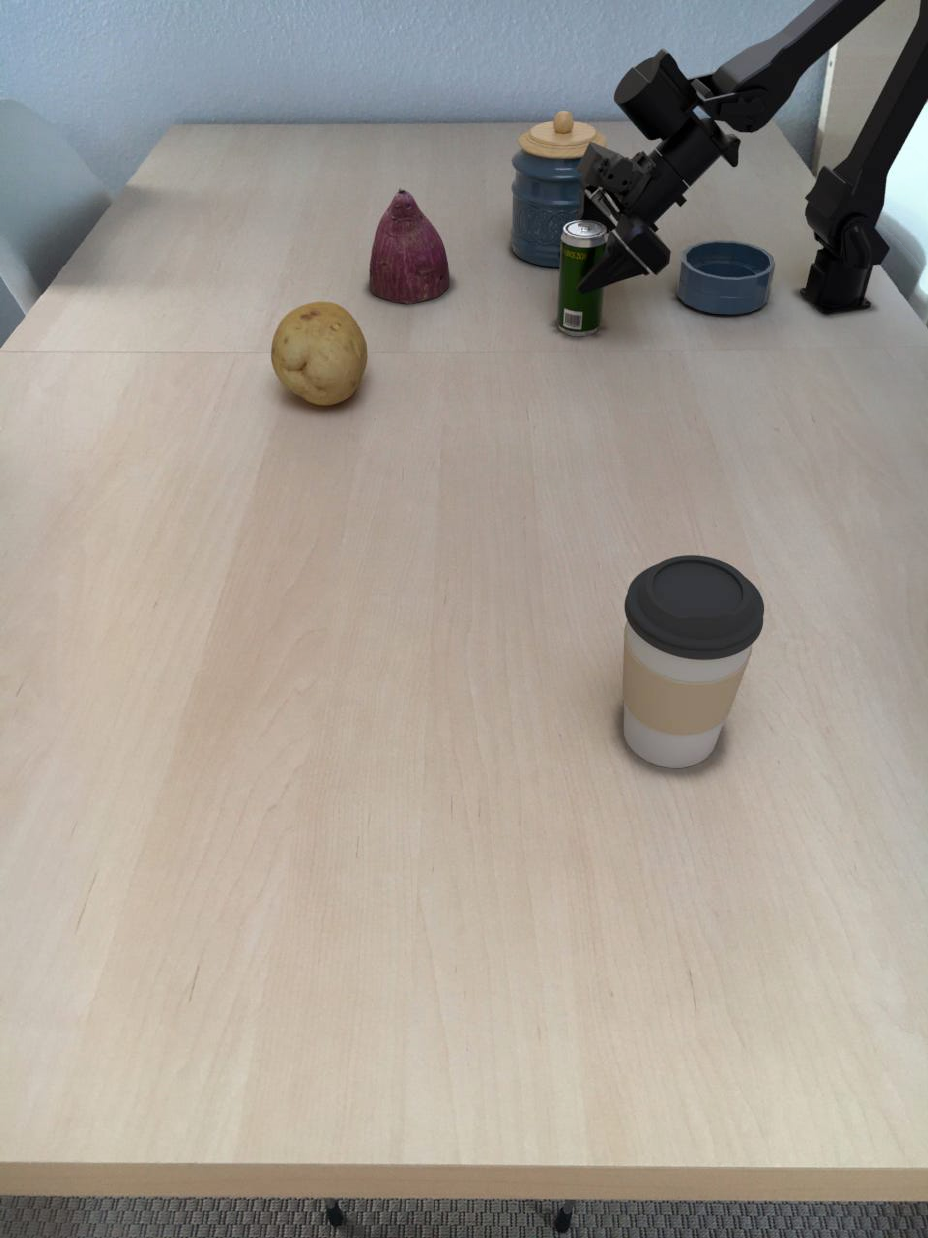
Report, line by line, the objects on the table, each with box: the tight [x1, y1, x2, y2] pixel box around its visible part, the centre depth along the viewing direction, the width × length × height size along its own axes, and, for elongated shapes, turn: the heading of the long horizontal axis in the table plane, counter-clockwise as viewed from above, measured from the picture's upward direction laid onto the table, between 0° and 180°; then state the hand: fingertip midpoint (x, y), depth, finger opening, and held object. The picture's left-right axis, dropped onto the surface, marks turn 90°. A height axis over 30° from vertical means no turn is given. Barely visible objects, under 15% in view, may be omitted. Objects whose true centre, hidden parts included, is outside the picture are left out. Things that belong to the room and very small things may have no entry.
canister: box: [510, 110, 608, 268], centre depth 130 cm, size 13×13×18 cm
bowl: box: [676, 239, 776, 315], centre depth 123 cm, size 11×11×5 cm
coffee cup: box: [622, 554, 765, 769], centre depth 69 cm, size 9×9×15 cm
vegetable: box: [368, 187, 451, 305], centre depth 124 cm, size 10×10×15 cm
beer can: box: [556, 220, 608, 337], centre depth 116 cm, size 5×5×12 cm
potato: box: [270, 301, 369, 406], centre depth 107 cm, size 10×12×10 cm
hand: (569, 273), depth 115 cm, fingers open, 9 cm apart
